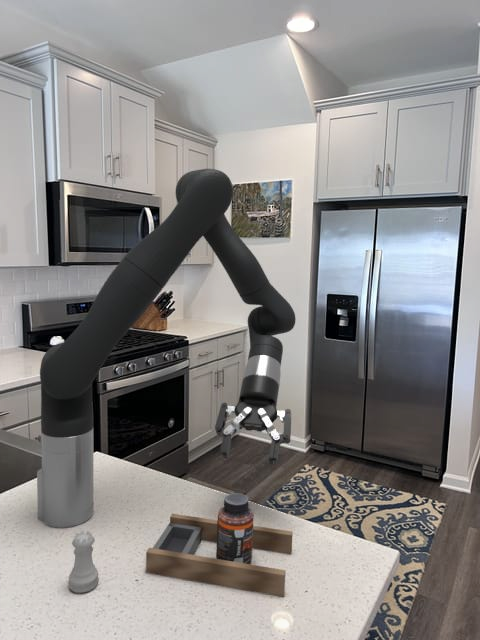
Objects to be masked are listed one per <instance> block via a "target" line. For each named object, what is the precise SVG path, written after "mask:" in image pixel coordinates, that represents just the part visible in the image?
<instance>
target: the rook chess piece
mask: <svg viewBox="0 0 480 640" xmlns="http://www.w3.org/2000/svg"><path fill="white" fill-rule="evenodd" d="M94 542H95V537H94V536H93V532H91V531H90V530H87V531H86V532H85V530H80V533H79V532H77V533H76V534H75V536H74V538H73V540H72V542H71V545H72V546H73V548H74V550H73V555H74V564H73V567H72V569H71V571H70V573H69V576H68V582H67V584H68V585H67V586H68V588H69V589H70V591H72V592H73V593H75V594H85V593H88V592H90V591H92V590H93V589H94V588H96V586H98V583H99V582H100V581H99V580H100V578H99V570H98V569H97V568H96V566H95V564H94V561H93V551H94V547H93V545H94Z"/></svg>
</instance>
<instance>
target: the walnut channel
mask: <svg viewBox="0 0 480 640" xmlns="http://www.w3.org/2000/svg"><path fill="white" fill-rule="evenodd" d="M217 521H218V519H211V518H205V517H200V516H199V517H196V516H190V515H186V514H179V513H171V515H170V517H169V523H175V524H181V525H188V526H194V527H201V528H202V531H201V541H206V542H210V543H211V542H212V543H216V544H217ZM293 533H294V532H293V531H292V530H285V529H278V528H272V527H265V526H260V525H259V526H258V525H253V542H252V549H253V550H261V551H268V552H275V553H280V554H286V555H292V552H293V549H292V548H293ZM145 552H146V553H145V573H146V574H153V575H157V576H158V575H159V576H163V577H170V578H175V579H181V580H187V581H192V582H196V583H197V582H198V583H203V584H207V585H208V584H209V585H214V586H220V587H226V588H230V587H231V588H232V589H236V590H242V591H248V592H249V591H250V592H253V593H259V594H266V595H271V596H277V597H282V598H284V597H285V589H286V571H287V570H286V569H281V568H280V569H279V568H273V567H268V566H262V565H256V564H252V563H251V564H245V563H239V562H233V561H227V560H221V559H216V557H208V556H202V555H197V554H194V555H191V554H185V553H179V552H173V551H166V550H160V549H154V548H153V547H148V548H147V550H146V551H145Z"/></svg>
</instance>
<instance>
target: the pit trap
mask: <svg viewBox="0 0 480 640" xmlns="http://www.w3.org/2000/svg"><path fill="white" fill-rule="evenodd" d="M201 531H202V528H201V527H194V526H188V525H181V524H175V523H170V522H169V523H168V524H167V526H166V527H165V528H164V531H163V532H162V533H161V535H160V536H159V538H158V540H157V541H156V542H155V544H154V545H153V547H152V548H154V549H160V550H166V551H173V552H179V553H185V554H191V555H196V552H197V550H198V548H199V547H200V544H201V542H202V540H201Z"/></svg>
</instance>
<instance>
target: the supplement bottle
mask: <svg viewBox="0 0 480 640" xmlns="http://www.w3.org/2000/svg"><path fill="white" fill-rule="evenodd" d="M249 500H250V499H249V497H248V496H247V495H245V494H243V493H239V492H235V493H233V492H232V493H229V494H227V495H225V496H224V498H223V506H222V507H220V509H219V511H218V513H217V520H218V521H217V543H216V553H215V554H216V555H215V559H221V560H227V561H233V562H239V563H245V564H251V565H252V560H253V559H252V558H253V548H252V542H253V526H254V518H255V517H254V512H253V510H252V509H251V508H250V507H249V506H250V505H249V504H250V503H249Z"/></svg>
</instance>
